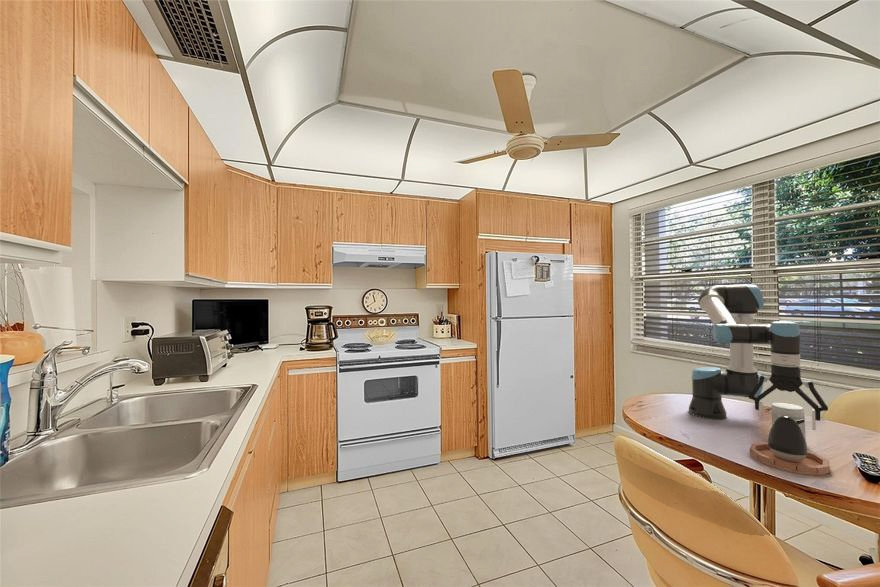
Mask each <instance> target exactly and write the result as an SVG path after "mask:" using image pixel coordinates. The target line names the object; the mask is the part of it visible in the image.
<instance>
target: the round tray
mask: <svg viewBox="0 0 880 587" xmlns="http://www.w3.org/2000/svg"><path fill="white" fill-rule="evenodd" d="M749 453H750V456H751V457H752V458H754V459H755V460H756V461H758V462H760V463H762V464H764V465H766V464H767V465H766V466H770V467H772V468H774V469H779V470H781V471H785V472H790V473H794V474H799V475H800V474H801V475H806V474H807V476H824V474H825V475H828V474H830V472H831V471H830V468H831V467H830V464H831V463H830V460H828V459H826V458H824V457H823V456H822V455H820V454H817V453H815V452H812V451H809V450H808V454H807V455H806V457H805V459H804V460H802V461H800V462H788V461H785V460H782V459H780V458H778V457H776V456H775V455H774V454H773V453H772V452H771V450H770V448H769V446H768V442H755V443H754V442H753V443H751V444H750V446H749ZM829 471H830V472H829ZM827 473H828V474H827Z"/></svg>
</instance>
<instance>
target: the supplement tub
mask: <svg viewBox="0 0 880 587" xmlns="http://www.w3.org/2000/svg"><path fill="white" fill-rule="evenodd" d="M770 408H771V426H772V425H773V423H774V422H775V420H776V419H777V418H778V417H781V416H788V417H791V418H793V419H794V420H795V421H796V420H801V419H803V420H804V421H805V422H804V423H801V424H799V426H800V428H801V430H802V432H803V434H804V437H805V440H806V441H807V438H806V437H807V436H806V417H805V416H806V415H805V411H804V410H805V409H804V407H803V406H801V405H798V404H791V403H787V402H785V403H784V402H772V403H771V407H770Z"/></svg>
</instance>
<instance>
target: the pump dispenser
mask: <svg viewBox="0 0 880 587" xmlns="http://www.w3.org/2000/svg"><path fill="white" fill-rule="evenodd" d="M804 422H805V423H806V420H805V421H804V420H803V419H801V420H796V421H795V420H794V419H793V418H791V417H788V416H781V417H778V418H777V419H776V420H775V422H774V423H773V425H772V424H771V427H770V430H769V434H768V438H767V439H768V440H767V443H768V446H769V448H770V450H771V452H772V453H773V454H774V455H775V456H776V457H778V458H780V459H782V460H785V461H788V462H800V461H802V460H804V459H805V457H806V455H807V454H808V451H809V448H808V443H807V439H806V440H805V437H804V434H803V432H802V430H801V428H800V426H799V424H801V423H804Z"/></svg>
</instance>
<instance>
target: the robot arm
mask: <svg viewBox="0 0 880 587" xmlns="http://www.w3.org/2000/svg"><path fill="white" fill-rule="evenodd" d="M762 292H763V291H762V290H761V289H760V287H759V286H757V285H755V284H729V285H728V284H726V285H723V284H721V285H713V286H712V285H711V286H710V287H708V288H706V289H705V290H703V291H702V292H701V293H700V295H699V297H698V300H697V301H698V306H699V307H700V309H701V310H703V312H706V315H707V317H708V319H710V321H711V322H712V324H713V326H712V332H711V334H712V338H713V340H714V341H715V343H720V344H721V343H722V344H723V343H724V344H729V364H728V365H726V366H725V370H722V369H721V368H720V367H717V366H702V367H701V366H700V367H696V368H693V370H692V372H691V379H692V380H691V382H692V384H691V386H692V387H691V388H692V397H691V401H690V403H689V405H688V412H690V413H689V414H691V413H692V414H691V415H693V414H694V415H693V416H695V415H697V417H699V416H700V417H699V418H703V417H704V419H711V420H724V419H727V410H726V408H725V406H724V403H723V400H722V396H732V397H744V398H748V399H750V400H752V401H754V409H755V410H756V411H758V420H759V421H763V418H764V417H763V416H764V414H763V413H764V412H763V409H764V408H763V405H764V404H763V399H764V398H765V397H766V396H768V395H770V394H771V393H772V392H774V391H775V390H776V389H777V390H778V391H781V392H785V391H786V392H788V393H789V392H790V393H793V392H795V394H797V395H799V396H800V397H801V398H802V399H803V400H804V401H805V402H806V403H807V404H808V405H809V406H810V407H811V408H812V409H811V416H812V418H811V419H812V420H811V422H812V424H811V425H812V427H811V428H812V430H813V431H816V429H817V424H816V422H817V421H818V422H820V421H821V412H824V411H825V412H826V411H829V406H828V405H827V404H826V402H825V400H824V399H823V398H822V396H821V394H819V392H818V390H817V389H816V387H815V383H814V381H813V380H808V381H807V380H806V381H805V380H802V378H801V377H802V376H801V367H800V366H801V330H800V325H799V323H797V322H793V321H772V322H770V323H767V324H754V318H755V316H756V315H758V313H759V311H758V310H762V309H763V308H764V305H765V304H764V300H765V299H764V295H763V293H762ZM754 345H770V363H771V365H770V373H771V375H770V376H765V375H764V374H761V373H759V372H758V369H757V368H756V367H755V366H754ZM768 381H769V382H771V384H772V385H771V386H769V387H768V388H767V389H765V390H764V391H763V389H764V383H767V382H768ZM802 385H804V386H805V387H806V388H807V389H809V390H810V392H811V394H812V395H813V397H814V398H815V400H816V401H817V403H818V404H819V405H818V404H817V403H816V402H815V401H813V399H812V398H811V397H810V396H808V395H807V393H805V392H804V391H803V390H802V389H801V387H802Z"/></svg>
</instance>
